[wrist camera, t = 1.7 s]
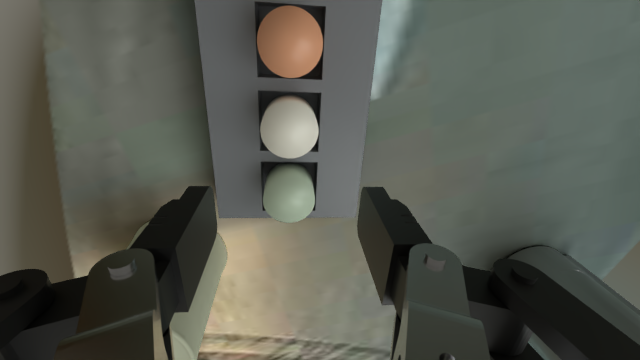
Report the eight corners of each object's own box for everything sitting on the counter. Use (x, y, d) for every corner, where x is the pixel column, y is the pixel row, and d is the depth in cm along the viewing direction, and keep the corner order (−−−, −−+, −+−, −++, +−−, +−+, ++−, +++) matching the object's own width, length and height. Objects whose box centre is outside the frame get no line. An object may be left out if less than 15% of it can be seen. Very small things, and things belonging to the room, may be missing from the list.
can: (241, 236, 30) (214, 347, 19) (208, 296, 33) (168, 420, 22) (149, 200, 27) (56, 305, 17) (121, 269, 30) (28, 395, 20)
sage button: (313, 162, 25) (316, 177, 22) (311, 203, 26) (314, 222, 24) (265, 161, 24) (261, 177, 22) (266, 203, 26) (263, 222, 23)
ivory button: (316, 95, 22) (320, 102, 20) (314, 145, 24) (317, 158, 21) (262, 93, 22) (259, 100, 19) (264, 144, 24) (261, 158, 21)
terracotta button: (320, 12, 20) (324, 7, 17) (317, 74, 22) (321, 79, 19) (260, 8, 20) (255, 3, 17) (262, 71, 21) (258, 76, 19)
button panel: (371, 2, 22) (382, -2, 19) (349, 200, 29) (355, 217, 27) (205, -10, 21) (192, -17, 18) (226, 200, 28) (219, 218, 25)
